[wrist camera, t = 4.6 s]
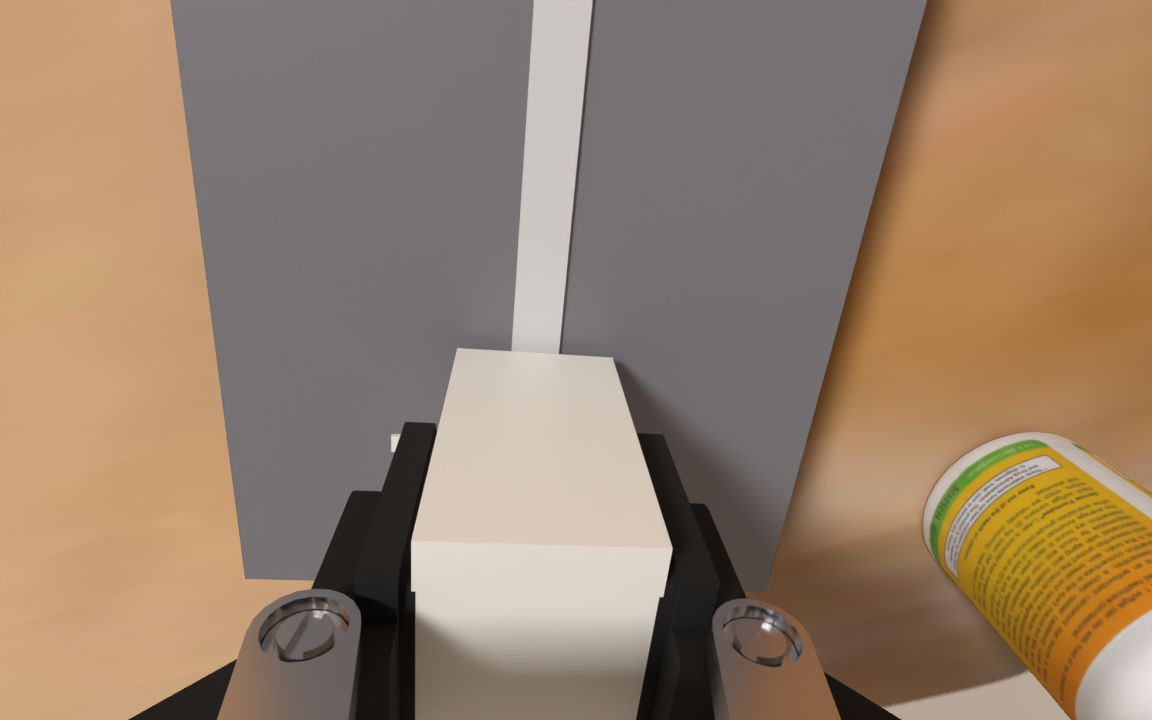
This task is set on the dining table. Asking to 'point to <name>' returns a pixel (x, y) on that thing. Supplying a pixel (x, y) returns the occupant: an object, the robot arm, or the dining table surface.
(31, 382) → the dining table surface
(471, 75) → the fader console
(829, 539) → the dining table surface
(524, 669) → the fader tab
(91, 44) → the dining table surface
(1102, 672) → the supplement bottle
